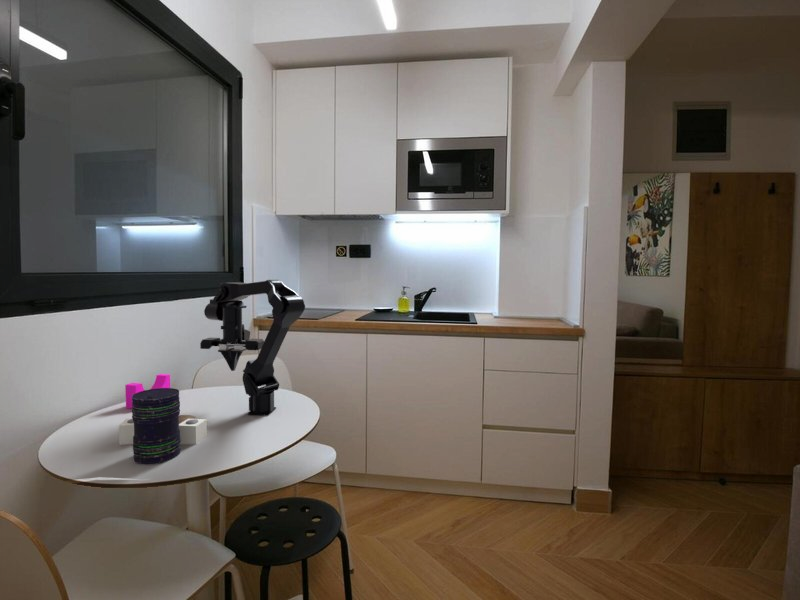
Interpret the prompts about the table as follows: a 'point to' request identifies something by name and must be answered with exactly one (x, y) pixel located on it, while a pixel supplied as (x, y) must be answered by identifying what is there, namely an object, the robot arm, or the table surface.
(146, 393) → the storage jar
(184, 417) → the beige rounded disc
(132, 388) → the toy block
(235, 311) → the robot arm
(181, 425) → the marked cube
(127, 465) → the table surface
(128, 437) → the marked cube
